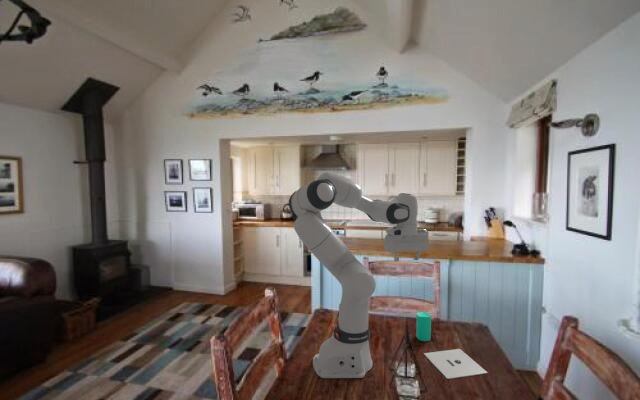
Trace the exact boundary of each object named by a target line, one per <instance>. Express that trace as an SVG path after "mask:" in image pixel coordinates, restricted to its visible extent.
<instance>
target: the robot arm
mask: <svg viewBox="0 0 640 400" xmlns="http://www.w3.org/2000/svg"><path fill="white" fill-rule="evenodd" d="M332 204H335V205H338V206H341V207H344V208H347V209H356V210H358V211H360V212H363V213H364V214H365V215H367V217H368V218H370V220H371V221H373V222H376V223H377V222H378V223H383V224H389V225H394V226H391V227H388V228H386V230H385V234H386V235H385V236H384V243H383V249H384V250H385V251H386V252H387V253H391V254H392V256H393V258H394V259H393V260H394V262H400V257H399V256H397V254H398V252H415V251H416V254H415V255H413V261H419V260H420V258H419V257H420V255H421V253H422V251H428V250H429V248H430V241H429V231H428V230H427V229H424V228H423V229H418V219H417V218H418V211H419V210H418V209H419V208H418V207H419V206H418V205H419V204H418V199H417V196H416V195H414V194H412V193H403V192H402V193H399V194H398V195H397V197H395V198H394V199H391V200H390V201H388V200H382V199H370V198H368V197H366V196H364V195H363V190H362V187H361V185H359V184H358V183H357V182H356V181H353V180H351V179H350V178H347V177H345V176H342V175H340V174H337V173H333V172H324V173H323V172H322V174H320V175H319V177H318V178H317V179H316V180H313V181H312V182H310V183H307V184H304V185H302V186H301V187H300V188H299V189H297V190H296V191H294V192H293V193H292V194H291V195H290V197H289V199H288V207H289V210H290V213H291V214H292V216H293V217H292V218H294V219H295V222H294V224H293V229H294V232H295V233H296V235H297V236H298V238H299V239H300V240H301V242H302V243H303V244H304V246H305V247H306V248H307V249H308V250H309V251H310V253H312V254H313V256H314V257H315V258H316V259H317V260H318V262H320V263H321V265H322V266H323V267H324V268H325V269H326V270H327V271H328V272H329V273H330V274H331V275H332V276H333V277H334V278H335V279H336V280H337V282H339V284H340V285H341V288H342V289H341V290H342V293H341V298H340V299H341V300H340V303H339V304H338V324H337V326H336V325H335V323H334V324H333V323H332V324H331V325H330V328H329V329H330V330H331V332H333V335H331V337H329V338H328V339H327V340H325V341H324V342H322V343H321V345H320V347H319V351H318V353H316V354H315V355H314V356H313V357H312V366H313V370H314V372H315V374H316V375H318V377H320V378H322V379H361V378H364V377H365V375H366V373H367V372H368V371H370V370H371V369H372V368H373V363H374V362H373V360H372V355H371V350H370V336H371V332H370V326H369V309H370V303H371V298H372V296H373V294H374V293H375V291H376V288H377V283H376V280H375V277H374V275H373V273H372V271H371V270H370V269H369V268H368V267H366V266H365V265H364V264H363V263H361V262H360V261H359V260H358V259H357V258H356V255H354V254H353V253H352V251H351V250H350V249H349V248H348V247H347V245H346V244H345V242H344V241H343V240H342V239H341V238H340V237H339V236H338V235H337V233H336V232H335V231H334V230H333V229H332V228H331V227H330V226H329V225H328V224H327V222H325V221H324V219H323V217H322V213H321V212H322V211H324V210H326V209H328V208H329V207H331V206H332Z"/></svg>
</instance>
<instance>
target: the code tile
mask: <svg viewBox="0 0 640 400" xmlns="http://www.w3.org/2000/svg"><path fill="white" fill-rule="evenodd" d="M423 355H424V356H425V357H426V358H427V359H428V360H429V361H430V363H432V365H433V366H434V367H435V368H436V369H437V370H438V371H439V372H440V373H441V374H442V376H444V377H445V379H446V380H451V379H459V378H460V379H461V378H466V377H472V376H480V375H485V374H488V373H489V372H488V371H486V370H485V369H484V368H483V367H482V366H481V365H480V364H479V363H477V362H476V361H474V360H473V359H472V358H471V357H470V356H469V355H468V354H467V353H465V352H464V351H463V350H462V349H461V348H455V349H447V350H440V351H439V350H437V351H431V352H423Z"/></svg>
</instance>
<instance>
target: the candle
mask: <svg viewBox="0 0 640 400" xmlns="http://www.w3.org/2000/svg"><path fill="white" fill-rule="evenodd" d="M415 326H416V327H415V328H416V332H415V336H416V338H417V340H419V341H422V342H428V341H431V336H432V335H431V334H432V331H431V329H432V327H431V326H432V314H430V313H429V312H427V311H426V312H425V311H418V312H417V313H416V325H415Z"/></svg>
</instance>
